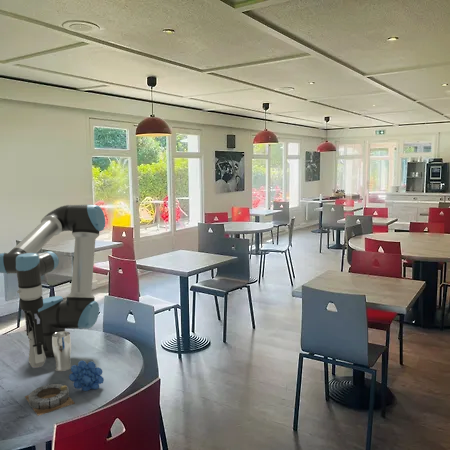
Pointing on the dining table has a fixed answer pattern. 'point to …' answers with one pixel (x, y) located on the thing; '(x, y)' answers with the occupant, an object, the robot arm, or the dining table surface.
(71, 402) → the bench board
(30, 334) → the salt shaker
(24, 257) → the robot arm
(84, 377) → the grapes
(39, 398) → the grey segmented ring
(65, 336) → the beer glass
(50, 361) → the dining table surface
